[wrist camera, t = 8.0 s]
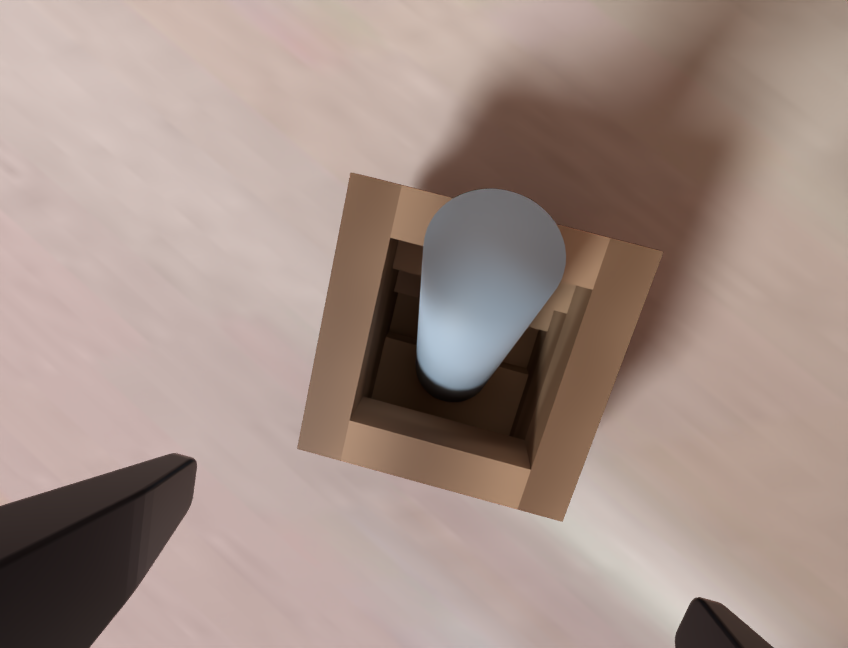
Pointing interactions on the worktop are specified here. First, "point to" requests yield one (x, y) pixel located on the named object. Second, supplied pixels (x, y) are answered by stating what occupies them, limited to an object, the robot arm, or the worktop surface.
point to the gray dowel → (482, 286)
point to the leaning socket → (505, 390)
